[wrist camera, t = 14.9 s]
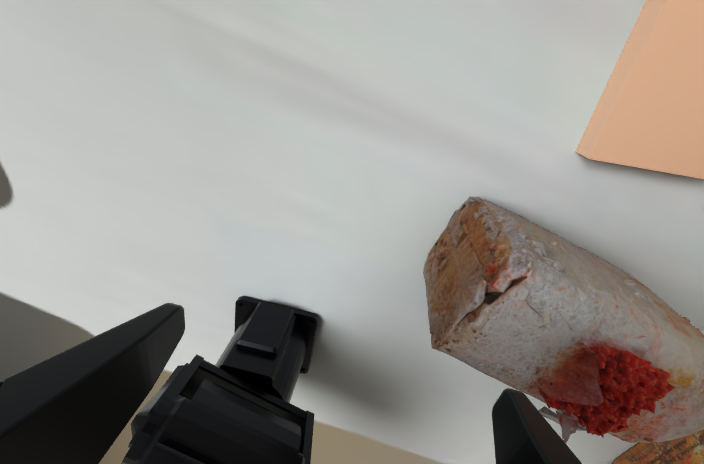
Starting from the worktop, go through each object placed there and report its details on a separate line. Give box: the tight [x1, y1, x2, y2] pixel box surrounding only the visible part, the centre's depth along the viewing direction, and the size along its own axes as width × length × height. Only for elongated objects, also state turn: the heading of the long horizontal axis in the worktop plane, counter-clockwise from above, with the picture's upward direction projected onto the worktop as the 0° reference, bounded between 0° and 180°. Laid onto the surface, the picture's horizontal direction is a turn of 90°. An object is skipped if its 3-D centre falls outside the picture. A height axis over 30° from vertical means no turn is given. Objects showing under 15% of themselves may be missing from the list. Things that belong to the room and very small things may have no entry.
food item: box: [423, 197, 704, 443], centre depth 18 cm, size 14×8×10 cm, turn 64°
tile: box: [575, 0, 704, 179], centre depth 15 cm, size 8×2×6 cm
